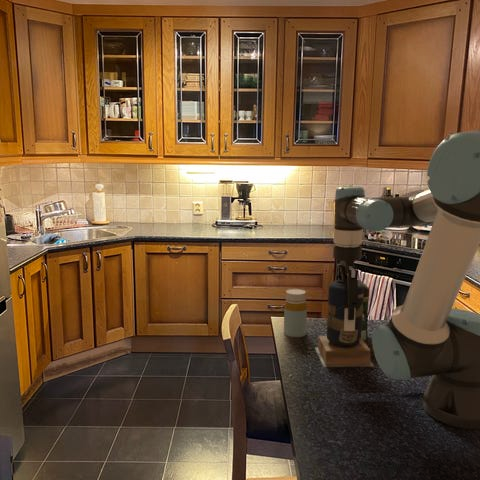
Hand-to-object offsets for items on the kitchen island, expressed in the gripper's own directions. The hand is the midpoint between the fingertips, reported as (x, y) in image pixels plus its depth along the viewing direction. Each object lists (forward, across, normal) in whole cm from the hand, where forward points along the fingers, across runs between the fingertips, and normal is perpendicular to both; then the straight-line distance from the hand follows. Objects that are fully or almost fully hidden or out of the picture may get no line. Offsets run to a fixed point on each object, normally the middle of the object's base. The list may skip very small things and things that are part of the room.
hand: (344, 323), depth 134 cm
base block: (+10, 0, 0) cm, 10 cm away
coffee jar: (+11, +16, -7) cm, 21 cm away
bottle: (+11, +18, +11) cm, 24 cm away
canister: (+6, 0, 0) cm, 6 cm away
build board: (+11, -1, +1) cm, 11 cm away
